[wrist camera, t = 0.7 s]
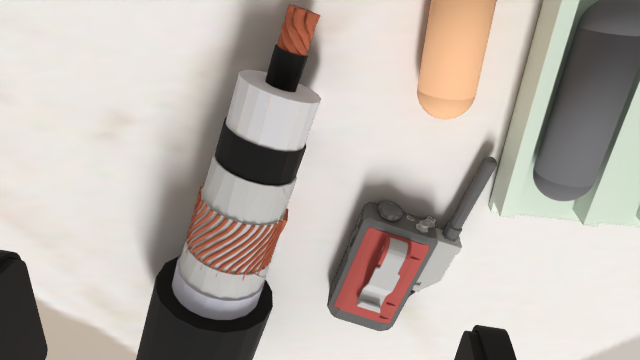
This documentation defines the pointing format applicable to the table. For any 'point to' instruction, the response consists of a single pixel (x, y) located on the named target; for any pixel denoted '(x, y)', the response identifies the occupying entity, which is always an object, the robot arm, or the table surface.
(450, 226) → the walkie-talkie
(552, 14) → the rack
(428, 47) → the tan capsule
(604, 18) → the gray pill-shaped rod
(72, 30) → the table surface
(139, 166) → the table surface
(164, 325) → the cable
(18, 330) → the robot arm
